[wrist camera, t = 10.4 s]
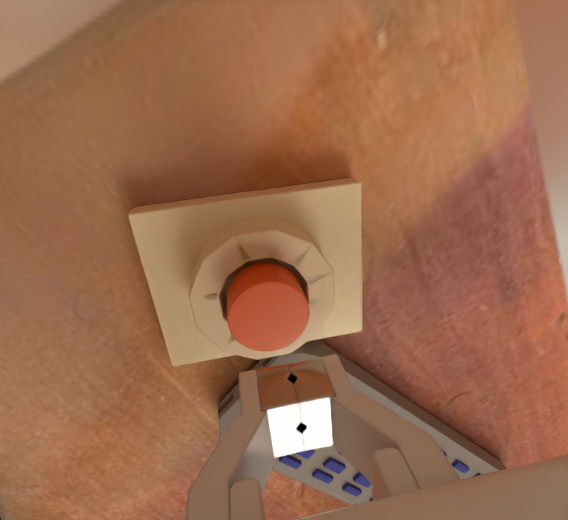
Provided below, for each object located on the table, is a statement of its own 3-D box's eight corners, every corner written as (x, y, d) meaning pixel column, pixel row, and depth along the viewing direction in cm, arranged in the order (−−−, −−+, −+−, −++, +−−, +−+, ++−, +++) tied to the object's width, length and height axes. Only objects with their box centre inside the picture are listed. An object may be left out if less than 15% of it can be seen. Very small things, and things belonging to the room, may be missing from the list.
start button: (233, 333, 16) (234, 358, 14) (220, 268, 14) (220, 289, 13) (303, 320, 16) (312, 343, 14) (297, 256, 15) (307, 274, 13)
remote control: (425, 517, 29) (440, 547, 27) (204, 414, 21) (202, 447, 19) (499, 459, 28) (521, 487, 26) (293, 320, 19) (302, 345, 17)
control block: (174, 352, 19) (167, 394, 16) (133, 206, 15) (114, 227, 13) (354, 319, 20) (376, 353, 17) (352, 176, 16) (379, 190, 14)
